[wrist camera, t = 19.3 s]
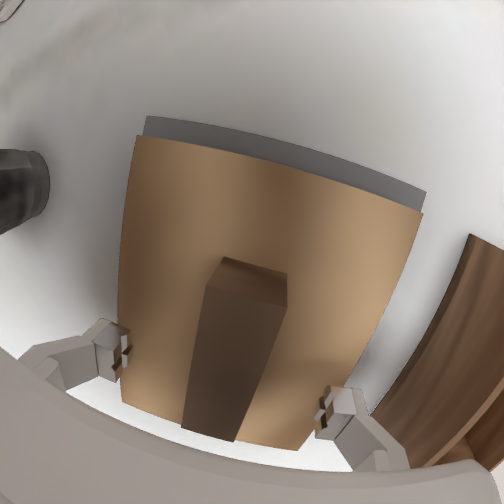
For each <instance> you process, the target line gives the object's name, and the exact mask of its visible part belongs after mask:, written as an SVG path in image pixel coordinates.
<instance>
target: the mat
mask: <svg viewBox="0 0 504 504" xmlns="http://www.w3.org/2000/svg"><path fill="white" fill-rule="evenodd" d="M142 136H148V137H154V138H161V139H167V140H173V141H178V142H184V143H189V144H194V145H199V146H204V147H209V148H214V149H219V150H223V151H228V152H232V153H237V154H241V155H245V156H249V157H253V158H257V159H261V160H265V161H269V162H273V163H277V164H280V165H284V166H288V167H291V168H295V169H298V170H302V171H305V172H308V173H312V174H315V175H318V176H321V177H325V178H328V179H331V180H334V181H337V182H340V183H343V184H346V185H349V186H352V187H355V188H358V189H361V190H364V191H366V192H369V193H372V194H375V195H378V196H380V197H383V198H386V199H388V200H391V201H393V202H396V203H399V204H401V205H404V206H406V207H409V208H411V209H414V210H416V211H418V212H421V209H422V206H423V202H424V199H425V196H426V192H425V191H423V190H421V189H419V188H416V187H414V186H412V185H409V184H407V183H405V182H402V181H400V180H397V179H395V178H392V177H390V176H387V175H385V174H382V173H380V172H377V171H374V170H372V169H369V168H366V167H364V166H361V165H358V164H355V163H352V162H349V161H346V160H344V159H341V158H338V157H334V156H331V155H328V154H325V153H322V152H319V151H315V150H312V149H309V148H305V147H302V146H298V145H295V144H291V143H288V142H284V141H280V140H276V139H272V138H268V137H264V136H260V135H256V134H252V133H247V132H243V131H238V130H233V129H229V128H224V127H219V126H213V125H208V124H202V123H197V122H191V121H184V120H178V119H171V118H163V117H155V116H147V118H146V122H145V126H144V131H143V135H142Z"/></svg>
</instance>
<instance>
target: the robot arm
mask: <svg viewBox="0 0 504 504" xmlns="http://www.w3.org/2000/svg"><path fill="white" fill-rule="evenodd" d="M21 2H22V0H0V22H1V21H5V20H7V19H8V18H9V17H10V16H11V15H12V14H13V12H14V11H15V10H16V8H17V7H18V6H19V4H20V3H21ZM133 339H134V332H133V331H132V330H130V329H127V328H125V327H123V326H120V325H118V324H116V323H114V322H111V321H109V320H106V319H104V318H101V319H99V320H98V321H97V322H96V323H95V324H94V325H93V326H92V327H91V328H90V329H89V330H88V331H87V332H86V333H84V334H83V335H82V336H79V335H78V336H74V337H70V338H65V339H61V340H56V341H52V342H47V343H43V344H38V345H33V346H32V347H31V348H30V349H29V350H28V351H27V352H26V353H24V354H23V355H22V356H21V357H20V358H19V359H18V360H17V359H16V358H14V357H13V356H12V355H10V354H9V353H8V352H7V351H5V350H4V349H3V348H2V347H0V504H502V503H501V500H500V496H499V492H498V489H497V486H496V483H495V480H494V478H493V476H492V474H491V473H490V472H489V471H488V470H487V469H485V468H484V467H483V466H482V465H481V464H479V463H478V462H476V461H475V460H473V459H466V460H461V461H457V462H452V463H447V464H442V465H436V466H430V467H423V468H415V469H410V466H409V462H408V459H407V455H406V452H405V448H403V447H402V446H401V445H400V444H399V443H398V442H397V441H396V440H395V439H394V438H393V437H392V436H391V435H390V434H389V433H388V432H387V431H386V430H385V429H384V428H383V427H382V426H381V425H380V424H379V423H378V422H377V421H376V420H375V419H374V418H373V417H369V415H368V411H367V407H366V403H365V400H364V396H363V392H362V390H361V389H355V388H346V387H339V386H332V385H327V386H326V387H325V389H324V391H323V394H324V396H322V397H320V398H319V399H318V401H317V402H316V405H315V408H314V419H315V420H316V421H317V423H316V425H315V426H314V427H315V438H316V439H324V440H332V441H334V443H335V444H336V446H337V447H338V449H339V450H340V452H341V453H342V455H343V456H344V458H345V459H346V461H347V462H348V464H349V465H350V466H351V468H352V469H353V471H352V472H329V471H313V470H302V469H292V468H284V467H276V466H270V465H264V464H258V463H252V462H247V461H242V460H237V459H233V458H228V457H224V456H220V455H216V454H212V453H208V452H205V451H201V450H198V449H194V448H191V447H188V446H185V445H181V444H178V443H175V442H172V441H170V440H167V439H164V438H161V437H158V436H156V435H153V434H150V433H148V432H145V431H143V430H140V429H138V428H136V427H133V426H131V425H128V424H126V423H124V422H122V421H120V420H117V419H115V418H113V417H111V416H109V415H107V414H105V413H103V412H101V411H99V410H97V409H95V408H93V407H91V406H89V405H87V404H85V403H83V402H82V401H80V400H78V399H76V398H74V397H73V396H71V395H69V394H68V393H66V390H68V389H71V388H73V387H75V386H77V385H80V384H82V383H84V382H87V381H89V380H91V379H93V378H96V377H98V375H99V376H101V377H103V378H106V379H108V380H110V381H112V382H115V383H116V382H117V380H118V379H119V378H120V376H121V375H122V373H123V368H124V367H127V366H128V365H129V363H130V362H131V359H132V357H133V352H134V346H133V345H132V343H131V342H132V340H133Z"/></svg>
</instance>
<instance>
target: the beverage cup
mask: <svg viewBox="0 0 504 504" xmlns="http://www.w3.org/2000/svg"><path fill="white" fill-rule="evenodd" d="M49 188H50V185H49V173H48V169H47V165H46V163H45V161H44V159H43V158H42V157H41V156H40V155H39V153H36V152H33V151H30V152H26V151H19V150H14V149H0V235H1V234H3V233H5V232H7V231H9V230H10V229H12V228H14V227H16V226H18V225H20V224H22V223H24V222H25V221H26V220H28V219H30V218H32V217H35V216H37V215H38V214H40V213H41V212H42V210H43V209H44V208H45V205H46V203H47V200H48V195H49Z"/></svg>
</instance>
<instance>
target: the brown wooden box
mask: <svg viewBox="0 0 504 504" xmlns="http://www.w3.org/2000/svg"><path fill="white" fill-rule="evenodd" d="M370 417H373V418H374V419H375V420H376V421H377V422H378V423H379V424H380V425H381V426H382V427H383V428H384V429H385V430H386V431H387V432H388V433H389V434H390V435H391V436H392V437H393V438H394V439H395V440H396V441H397V442H398V443H399V444H400V445H401V446H402V447H403V448H405V452H406V455H407V459H408V462H409V466H410V469H415V468H423V467H430V466H436V465H442V464H447V463H452V462H457V461H461V460H466V459H473V460H475V461H476V462H478V463H479V464H481V465H482V466H483V467H484V468H485V469H487V470H488V471H489V472H491V471H492V470H493V469H495V468H496V467H497V466H498V465H499V464H500V463H501V462H502V461H503V460H504V251H503V250H501V249H500V248H498V247H496V246H494V245H492V244H490V243H488V242H486V241H484V240H482V239H480V238H478V237H476V236H474V235H472V234H469V237H468V240H467V243H466V246H465V248H464V251H463V254H462V256H461V259H460V261H459V264H458V266H457V269H456V271H455V274H454V276H453V278H452V281H451V283H450V285H449V287H448V290H447V292H446V294H445V296H444V298H443V300H442V302H441V304H440V306H439V308H438V310H437V312H436V314H435V316H434V318H433V320H432V322H431V324H430V326H429V328H428V329H427V331H426V333H425V335H424V337H423V338H422V340H421V342H420V344H419V345H418V347H417V349H416V350H415V352H414V354H413V355H412V357H411V358H410V360H409V362H408V363H407V365H406V366H405V368H404V369H403V371H402V373H401V374H400V376H399V377H398V378H397V380H396V381H395V383H394V384H393V386H392V387H391V389H390V390H389V391H388V393H387V394H386V396H385V397H384V398H383V400H382V401H381V402H380V404H379V405H378V406H377V408H376V409H375V410H374V412H373V413H372V414H371V415H370Z"/></svg>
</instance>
